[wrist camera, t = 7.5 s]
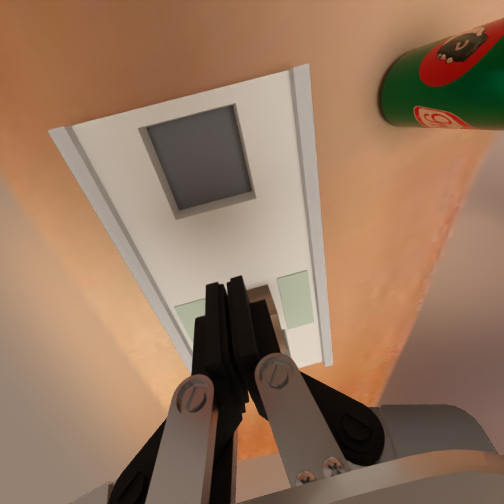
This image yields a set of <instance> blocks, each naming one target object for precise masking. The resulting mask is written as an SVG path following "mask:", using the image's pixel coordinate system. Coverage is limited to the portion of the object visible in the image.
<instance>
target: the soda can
mask: <svg viewBox="0 0 504 504" xmlns="http://www.w3.org/2000/svg"><path fill="white" fill-rule="evenodd" d="M381 105H382V110H383V113H384V115H385V117H386V119H387V120H388V121H389V122H390V123H391V124H393V125H395V126H398V127H417V128H446V129H475V130H503V131H504V18H502V19H499V20H496V21H493V22H490V23H487V24H485V25H482V26H479V27H476V28H473V29H470V30H467V31H465V32H462V33H459V34H456V35H453V36H450V37H447V38H445V39H442V40H439V41H436V42H433V43H430V44H427V45H425V46H422V47H419V48H416V49H413V50H411V51H409V52H407V53H406V54H404V55H403V56H402V57H401V58H400V59H399V60H398V61H397V62H396V63H395V64H394V65H393V67H392V68H391V70H390V71H389V73H388V75H387V77H386V80H385V82H384V85H383V89H382V95H381Z"/></svg>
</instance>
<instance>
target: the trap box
mask: <svg viewBox="0 0 504 504" xmlns="http://www.w3.org/2000/svg"><path fill="white" fill-rule="evenodd" d="M47 131H48V133H49V134H50V136H51V138H52V140H53V141H54V143H55V145H56V146H57V148H58V150H59V151H60V153H61V155H62V156H63V158H64V160H65V162H66V163H67V165H68V167H69V168H70V170H71V172H72V173H73V175H74V177H75V179H76V180H77V182H78V184H79V185H80V187H81V189H82V190H83V192H84V194H85V195H86V197H87V199H88V201H89V202H90V204H91V206H92V207H93V209H94V211H95V212H96V214H97V216H98V217H99V219H100V221H101V223H102V224H103V226H104V228H105V229H106V231H107V233H108V234H109V236H110V238H111V239H112V241H113V243H114V245H115V246H116V248H117V250H118V251H119V253H120V255H121V256H122V258H123V260H124V262H125V263H126V265H127V267H128V268H129V270H130V272H131V273H132V275H133V277H134V278H135V280H136V282H137V284H138V285H139V287H140V289H141V290H142V292H143V294H144V295H145V297H146V299H147V300H148V302H149V304H150V306H151V307H152V309H153V311H154V312H155V314H156V316H157V317H158V319H159V321H160V323H161V324H162V326H163V328H164V329H165V331H166V333H167V334H168V336H169V338H170V339H171V341H172V343H173V345H174V346H175V348H176V350H177V351H178V353H179V355H180V356H181V358H182V360H183V361H184V363H185V365H186V367H187V368H188V370H189V372H190V373H191V371H192V356H193V340H194V325H195V319H196V318H197V317H200V316H204V315H205V293H206V285H207V284H211V283H214V282H218V283H219V284H224V286H225V289H226V292H227V282H230V278H233V277H237V276H240V275H242V277H243V280H244V283H245V287H246V290H249V289H253V288H256V287H260V286H263V285H267V284H268V287H269V290H270V292H271V295H272V298H273V301H274V304H275V307H276V310H277V313H278V316H279V321H280V325H281V329H282V333H283V337H284V341H285V346H286V350H287V352H286V353H282V354H285V355H287V356H289V357H290V358H292V359H293V361H294V362H295V364H296V365H297V367H298V368H301V367H304V366H308V365H311V364H315V363H318V362H322V361H323V363H324V365H325V367H327V366H331V365H333V357H332V345H331V332H330V320H329V307H328V294H327V282H326V269H325V257H324V244H323V232H322V219H321V207H320V194H319V182H318V169H317V157H316V144H315V132H314V119H313V106H312V94H311V81H310V69H309V63H308V64H304V65H300V66H296V67H293V68H291V69H290V70H287V71H283V72H279V73H275V74H271V75H267V76H263V77H259V78H255V79H251V80H247V81H244V82H240V83H236V84H232V85H228V86H224V87H220V88H216V89H212V90H208V91H205V92H201V93H197V94H193V95H189V96H185V97H181V98H177V99H173V100H169V101H166V102H162V103H158V104H154V105H150V106H146V107H142V108H138V109H134V110H130V111H126V112H123V113H119V114H115V115H111V116H107V117H103V118H99V119H95V120H91V121H87V122H84V123H80V124H76V125H72V126H62V127H58V128H54V129H50V130H47ZM227 295H228V294H227Z"/></svg>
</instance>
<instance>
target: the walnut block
mask: <svg viewBox="0 0 504 504" xmlns="http://www.w3.org/2000/svg"><path fill="white" fill-rule="evenodd" d="M247 293H248V297H249V300H250V303H252V302H255V301H259V300H263V299H265V300H266V303H267V307H268V310H269V313H270V317H271V320H272V324H273V327H274V330H275V334H276V337H277V341H278V344H279V348H280V351H281V353H286V352H287V350H286V346H285V341H284V337H283V333H282V329H281V325H280V321H279V316H278V313H277V310H276V307H275V304H274V301H273V298H272V295H271V292H270V290H269V287H268V284H267V285H263V286H260V287H256V288H253V289H249V290H247Z"/></svg>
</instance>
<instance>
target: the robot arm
mask: <svg viewBox="0 0 504 504" xmlns="http://www.w3.org/2000/svg"><path fill="white" fill-rule="evenodd" d="M227 294H228V295H227ZM248 391H249V393H250V396H251V398H252V400H253V401H254V403H255V406H256V408H257V410H258V413H259V415H261V416H262V417H263V418H265V419H266V420H268V421H269V423H270V426H271V429H272V432H273V435H274V438H275V441H276V444H277V447H278V450H279V453H280V456H281V459H282V462H283V464H284V468H285V471H286V474H287V477H288V480H289V483H290V485H291V488H289V489H286V490H282V491H279V492H275V493H272V494H268V495H265V496H261V497H258V498H254V499H251V500H247V501H244V502H240V503H237V504H504V455H501V454H498V452H497V451H496V449H495V447H494V446H493V444H492V443H491V441H490V439H489V437H488V436H487V434H486V432H485V431H484V429H483V428H482V426H481V425H480V424H479V423H478V421H477V420H476V419H475V418H474V417H473V416H471V415H470V414H469V413H467V412H466V411H465V410H463V409H460V408H458V407H456V406H453V405H447V404H395V405H394V404H387V405H380V407H367V406H365V405H364V404H362V403H360V402H358V401H356V400H354V399H352V398H350V397H348V396H346V395H345V394H343V393H341V392H339V391H337V390H335V389H333V388H331V387H329V386H327V385H325V384H323V383H322V382H320V381H318V380H316V379H314V378H312V377H310V376H308V375H306V374H304V373H302V372H300V371H299V369H298V367H297V365H296V364H295V362H294V361H293V359H292V358H290V357H289V356H287V355H285V354H282V353H281V351H280V348H279V344H278V341H277V337H276V334H275V330H274V327H273V324H272V320H271V317H270V313H269V310H268V307H267V303H266V300H265V299H263V300H259V301H255V302H252V303H250V300H249V297H248V293H247V290H246V287H245V283H244V280H243V277H242V275H240V276H237V277H233V278H230V282H227V292H226V289H225V286H224V284H219V283H218V282H214V283H211V284H207V285H206V293H205V315H204V316H200V317H197V318H196V319H195V325H194V340H193V356H192V371H191V376H190V377H188V378H187V379H185V380H184V381H183V382H182V383H181V384H179V386H178V387H177V389H176V390H175V392H174V395H173V397H172V400H171V404H170V408H169V412H168V416H167V418H166V420H165V421H164V422H163V423H162V424H161V426H160V427H159V428H158V429H157V430H156V432H155V433H154V434H153V435H152V437H151V438H150V439H149V440H148V442H147V443H146V444H145V445H144V446H143V448H142V449H141V450H140V451H139V453H138V454H137V455H136V456H135V458H134V459H133V460H132V461H131V462H130V464H129V465H128V466H127V467H126V469H125V470H124V471H123V472H122V474H121V475H120V477H119V478H118V479H117V480H116V481H114V482H112V483H111V482H109V481H108V482H107V483H105V484H103V485H101V486H99V487H98V488H96V489H94V490H92V491H91V492H89V493H87V494H85V495H84V496H82V497H80V498H78V499H77V500H75V501H73V502H71V503H69V504H235V502H236V500H235V499H236V474H237V445H238V430H237V427H238V426H239V424H240V422H241V421H242V413H245V412H246V410H245V403H248V402H249V395H248Z"/></svg>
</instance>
